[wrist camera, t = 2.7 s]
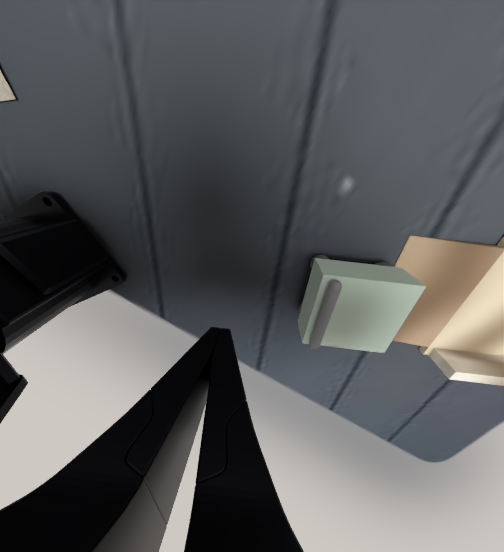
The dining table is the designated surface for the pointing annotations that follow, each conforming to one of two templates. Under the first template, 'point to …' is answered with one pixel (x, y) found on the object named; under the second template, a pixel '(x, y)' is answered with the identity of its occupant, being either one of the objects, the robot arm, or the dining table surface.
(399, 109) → the dining table surface
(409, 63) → the dining table surface
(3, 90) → the condiment
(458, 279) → the dock
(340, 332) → the pale green pegged cube
